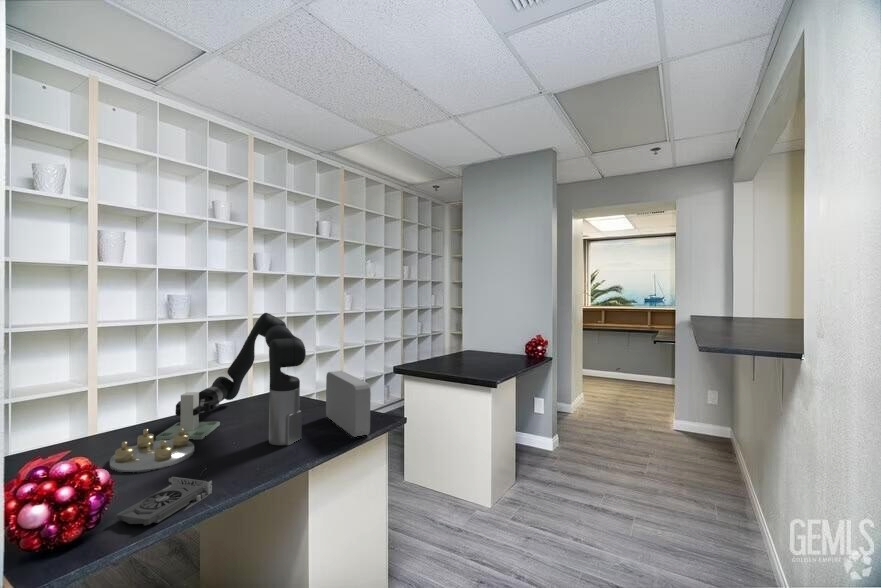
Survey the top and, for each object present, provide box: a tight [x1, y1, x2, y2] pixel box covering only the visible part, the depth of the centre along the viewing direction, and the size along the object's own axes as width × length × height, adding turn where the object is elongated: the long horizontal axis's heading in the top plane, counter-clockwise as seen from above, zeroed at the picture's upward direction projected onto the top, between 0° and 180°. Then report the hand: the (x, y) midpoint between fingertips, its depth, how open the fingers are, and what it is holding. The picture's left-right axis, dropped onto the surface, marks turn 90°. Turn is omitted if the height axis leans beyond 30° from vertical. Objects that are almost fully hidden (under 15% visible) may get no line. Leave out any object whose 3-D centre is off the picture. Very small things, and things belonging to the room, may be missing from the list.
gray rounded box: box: [325, 370, 372, 438], centre depth 148 cm, size 29×8×18 cm, turn 35°
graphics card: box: [116, 476, 213, 527], centre depth 93 cm, size 17×4×12 cm
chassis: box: [109, 428, 195, 474], centre depth 119 cm, size 20×20×6 cm
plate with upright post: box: [155, 391, 221, 441], centre depth 139 cm, size 14×14×13 cm
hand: (185, 412), depth 136 cm, fingers open, 4 cm apart
